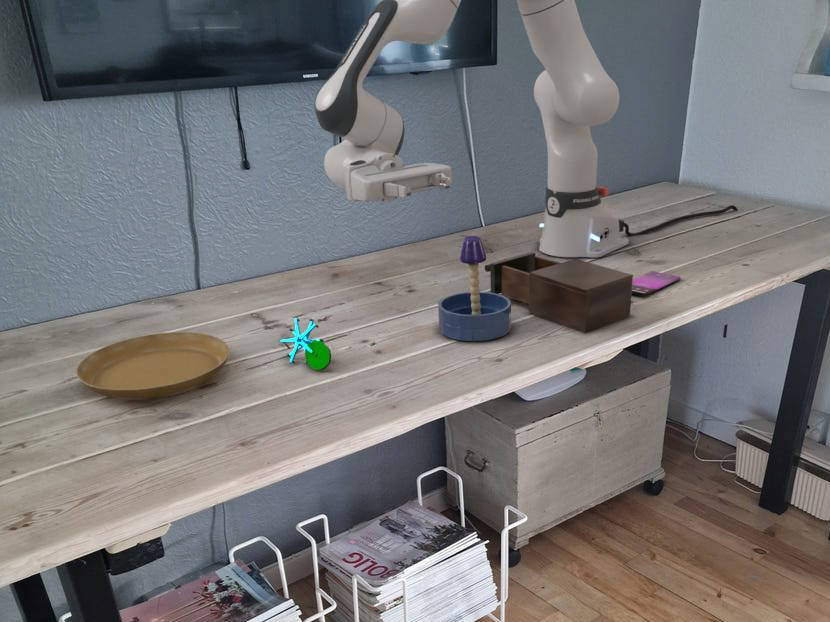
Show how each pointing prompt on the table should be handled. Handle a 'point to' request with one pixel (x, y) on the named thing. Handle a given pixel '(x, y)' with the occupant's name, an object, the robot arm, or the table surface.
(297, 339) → the stick construction toy
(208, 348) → the plant saucer
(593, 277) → the cabinet
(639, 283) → the smartphone
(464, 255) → the toy lamp
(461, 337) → the bowl
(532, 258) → the drawer
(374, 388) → the table surface
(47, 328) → the table surface
